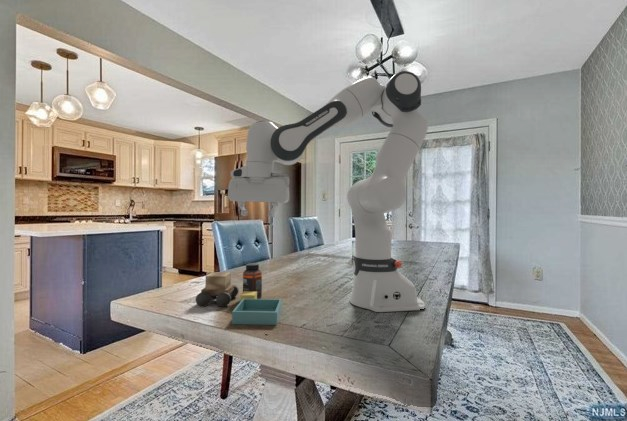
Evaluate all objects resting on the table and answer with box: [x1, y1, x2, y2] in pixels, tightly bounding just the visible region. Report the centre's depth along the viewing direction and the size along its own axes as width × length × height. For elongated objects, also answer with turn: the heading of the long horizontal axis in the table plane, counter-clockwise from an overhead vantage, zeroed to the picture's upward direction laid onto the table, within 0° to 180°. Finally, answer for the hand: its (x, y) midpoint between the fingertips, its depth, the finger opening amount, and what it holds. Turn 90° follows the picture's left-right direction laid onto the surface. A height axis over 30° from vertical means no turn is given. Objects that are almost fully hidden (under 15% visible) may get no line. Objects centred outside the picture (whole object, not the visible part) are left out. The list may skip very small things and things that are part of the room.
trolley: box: [195, 271, 240, 308], centre depth 94 cm, size 10×10×8 cm
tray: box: [231, 298, 283, 326], centre depth 81 cm, size 11×11×3 cm
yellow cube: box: [240, 291, 257, 301], centre depth 90 cm, size 4×4×4 cm
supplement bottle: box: [242, 262, 263, 299], centre depth 97 cm, size 6×6×11 cm
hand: (257, 216), depth 97 cm, fingers open, 8 cm apart
